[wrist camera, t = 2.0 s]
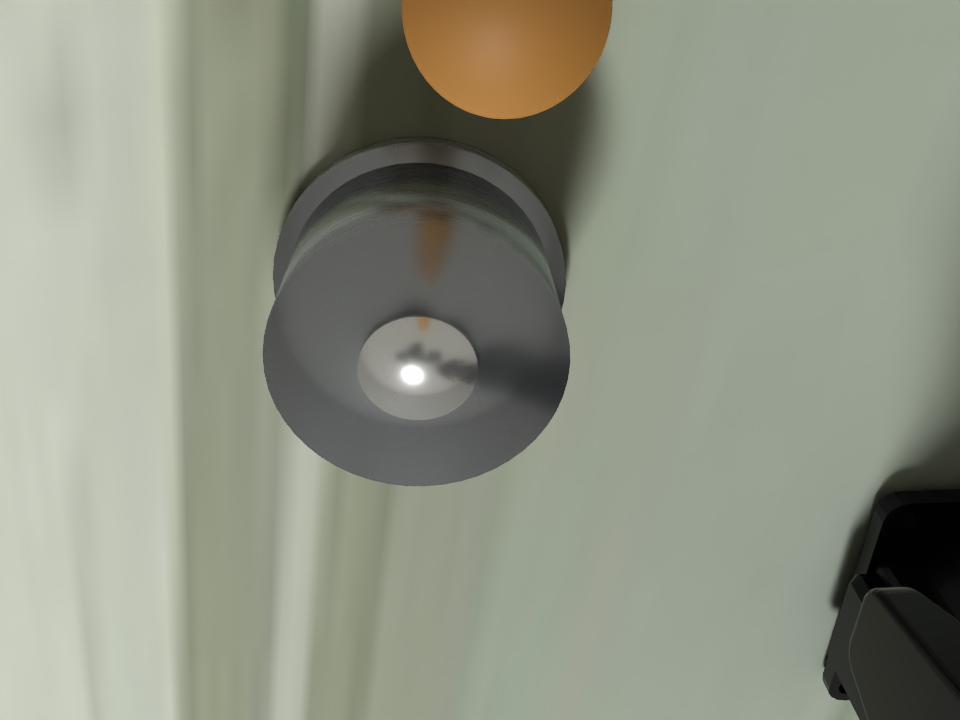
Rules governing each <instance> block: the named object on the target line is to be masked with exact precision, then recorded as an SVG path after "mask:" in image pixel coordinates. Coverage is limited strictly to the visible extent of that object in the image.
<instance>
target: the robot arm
mask: <svg viewBox="0 0 960 720" xmlns="http://www.w3.org/2000/svg"><path fill="white" fill-rule="evenodd" d="M902 513H905V514H903V515H901V514H902ZM899 515H901V516H900V517H898V516H899ZM823 682H824V684H825V686H826V688H827V690H828V692H829V694H830V695H831V697H833V698H835V699H837V700H850V701H851V703H852V705H853V707H854V709H855V711H856V713H857V715H858V717H859V719H860V720H960V489H956V490H926V491H902V492H896V493H892V494H890V495H888V496H886V497H885V498H883V499H882V500H881V501H880V502H879V503H878V504H877V506H876V508H875V510H874V513H873V516H872V519H871V523H870V526H869V529H868V532H867V535H866V539H865V542H864V545H863V548H862V551H861V554H860V558H859V561H858V564H857V567H856V570H855V574H854V577H853V579H852V580H851V581H850V583H849V584H848V588H847V591H846V594H845V597H844V600H843V604H842V607H841V610H840V613H839V616H838V620H837V623H836V626H835V629H834V632H833V636H832V639H831V642H830V645H829V648H828V660H827V663H826V666H825V669H824V672H823Z"/></svg>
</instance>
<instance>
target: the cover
mask: <svg viewBox="0 0 960 720" xmlns="http://www.w3.org/2000/svg"><path fill="white" fill-rule="evenodd" d="M273 280H274V293H275V297H276V299H275V302H274V305H273V307H272V310H271V313H270V315H269V318H268V321H267V326H266V330H265V335H264V344H263V363H264V373H265V377H266V381H267V385H268V389H269V391H270V394H271V396H272V399H273V401H274V404H275V406H276V407H277V409H278V411H279V412H280V414H281V416H282V418H283V419H284V421H285V422H286V423H287V425H288V426H289V427H290V428H291V430H292V431H293V432H294V434H295V435H296V436H297V437H298V438H299V439H301V440H302V441H303V442H304V443H305V444H306V445H307V446H308V447H309V448H310V449H312V450H313V451H314V452H315V453H317V454H318V455H319V456H321V457H322V458H324V459H325V460H327V461H329V462H330V463H332V464H334V465H335V466H337V467H339V468H341V469H344V470H346V471H348V472H350V473H352V474H355V475H358V476H361V477H364V478H367V479H370V480H374V481H379V482H383V483H387V484H395V485H404V486H431V485H443V484H448V483H453V482H458V481H463V480H466V479H469V478H472V477H476V476H479V475H481V474H483V473H486V472H488V471H490V470H493V469H495V468H497V467H498V466H500V465H502V464H504V463H506V462H507V461H509V460H511V459H512V458H513V457H515V456H516V455H517V454H519V453H520V452H522V451H523V450H524V449H525V448H526V447H527V446H529V445H530V444H531V443H532V442H533V441H534V440H535V439H536V438H537V437H538V436H539V434H540V433H541V432H542V431H543V430H544V428H545V427H546V426H547V425H548V423H549V422H550V420H551V418H552V417H553V415H554V414H555V412H556V410H557V408H558V406H559V404H560V401H561V399H562V397H563V394H564V391H565V387H566V384H567V380H568V374H569V366H570V345H569V339H568V333H567V328H566V324H565V321H564V317H563V314H562V310H561V309H562V305H563V302H564V294H565V286H566V279H565V263H564V257H563V251H562V248H561V244H560V241H559V238H558V235H557V232H556V229H555V226H554V223H553V221H552V219H551V217H550V215H549V213H548V211H547V209H546V207H545V206H544V204H543V203H542V201H541V200H540V198H539V197H538V195H537V194H536V192H535V191H534V190H533V189H532V188H531V187H530V186H529V185H528V184H527V182H526V181H525V180H524V179H523V178H522V177H521V176H519V175H518V174H517V173H516V172H515V171H513V170H512V169H511V168H510V167H509V166H507V165H506V164H504V163H502V162H501V161H499V160H498V159H496V158H495V157H493V156H491V155H489V154H487V153H485V152H483V151H481V150H478V149H476V148H474V147H471V146H468V145H465V144H461V143H458V142H455V141H450V140H444V139H438V138H426V137H408V138H397V139H391V140H386V141H381V142H377V143H373V144H370V145H368V146H365V147H362V148H360V149H357V150H355V151H353V152H351V153H349V154H347V155H345V156H343V157H341V158H339V159H338V160H336V161H335V162H334V163H332V164H331V165H329V166H328V167H327V168H325V169H324V170H322V171H321V172H320V173H319V174H318V175H317V176H316V177H315V178H314V179H313V180H312V181H311V182H310V183H309V184H308V185H307V187H306V188H305V189H304V190H303V192H302V193H301V194H300V196H299V197H298V198H297V200H296V202H295V204H294V205H293V207H292V209H291V211H290V212H289V214H288V217H287V219H286V221H285V224H284V226H283V229H282V231H281V234H280V237H279V239H278V243H277V248H276V252H275V257H274V269H273Z"/></svg>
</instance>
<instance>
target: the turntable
mask: <svg viewBox="0 0 960 720" xmlns="http://www.w3.org/2000/svg"><path fill="white" fill-rule="evenodd" d="M611 17H612V0H402V20H403V29H404V33H405V37H406V42H407V45H408V47H409V50H410V53H411V56H412V58H413V60H414V62H415V64H416V65H417V67H418V69H419V71H420V72H421V74H422V75H423V76H424V78H425V79H426V81H427V82H428V83H429V84H430V85H431V86H432V87H433V88H434V90H435V91H436V92H438V93H439V94H440V95H441V96H442V97H443V98H445V99H446V100H447V101H449V102H450V103H452V104H454V105H455V106H457V107H459V108H461V109H463V110H465V111H467V112H469V113H472V114H476V115H479V116H482V117H488V118H493V119H514V118H522V117H527V116H531V115H534V114H537V113H540V112H543V111H545V110H547V109H549V108H551V107H553V106H555V105H557V104H558V103H560V102H561V101H563V100H564V99H566V98H567V97H568V96H569V95H570V94H572V93H573V92H574V91H575V90H576V89H577V88H578V87H579V86H580V85H581V84H582V83H583V82H584V80H585V79H586V78H587V77H588V75H589V74H590V73H591V71H592V70H593V68H594V67H595V65H596V63H597V61H598V59H599V57H600V56H601V54H602V51H603V48H604V46H605V43H606V41H607V37H608V33H609V29H610V24H611Z"/></svg>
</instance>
